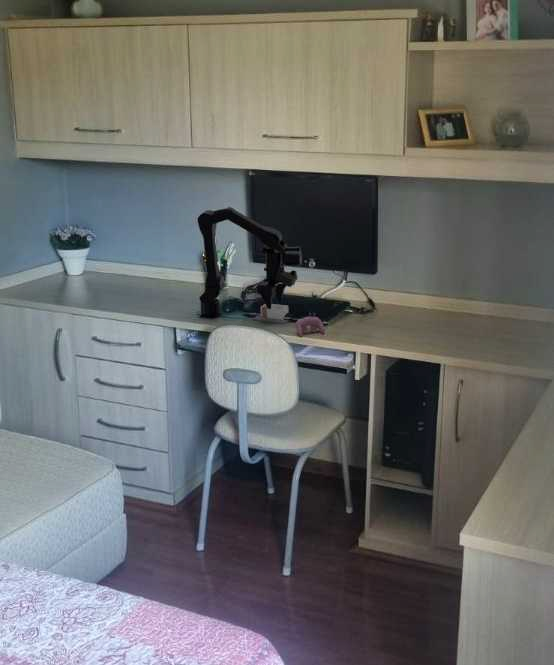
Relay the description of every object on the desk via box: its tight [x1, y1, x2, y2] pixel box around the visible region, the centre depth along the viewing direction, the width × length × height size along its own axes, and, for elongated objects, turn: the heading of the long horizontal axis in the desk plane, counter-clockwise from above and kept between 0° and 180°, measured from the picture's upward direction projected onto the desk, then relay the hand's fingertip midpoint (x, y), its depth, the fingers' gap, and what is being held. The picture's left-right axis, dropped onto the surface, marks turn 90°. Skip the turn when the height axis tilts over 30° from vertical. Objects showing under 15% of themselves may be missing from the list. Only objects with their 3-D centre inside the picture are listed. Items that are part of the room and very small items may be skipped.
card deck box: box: [260, 303, 289, 320], centre depth 328 cm, size 5×9×4 cm, turn 66°
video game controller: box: [295, 316, 325, 338], centre depth 310 cm, size 10×5×7 cm, turn 108°
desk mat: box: [252, 315, 290, 325], centre depth 329 cm, size 13×11×1 cm
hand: (274, 305), depth 328 cm, fingers open, 9 cm apart
